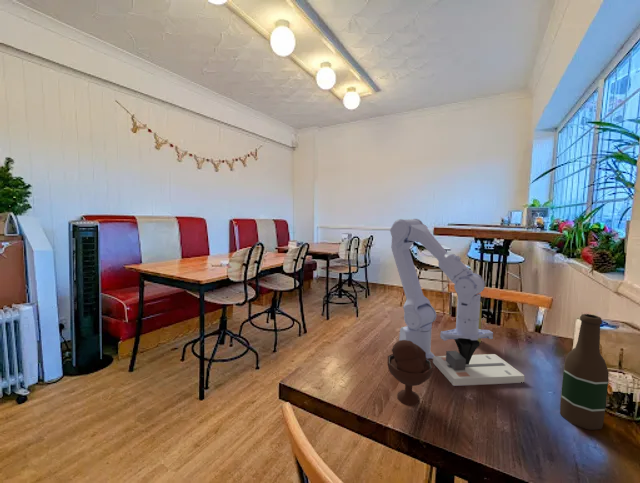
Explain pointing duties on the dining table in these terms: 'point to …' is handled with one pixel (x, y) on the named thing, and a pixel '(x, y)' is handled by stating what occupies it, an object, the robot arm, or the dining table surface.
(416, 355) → the ice cream bowl
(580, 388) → the beer bottle
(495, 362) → the fader panel
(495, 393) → the dining table surface
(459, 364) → the fader knob
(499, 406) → the dining table surface
